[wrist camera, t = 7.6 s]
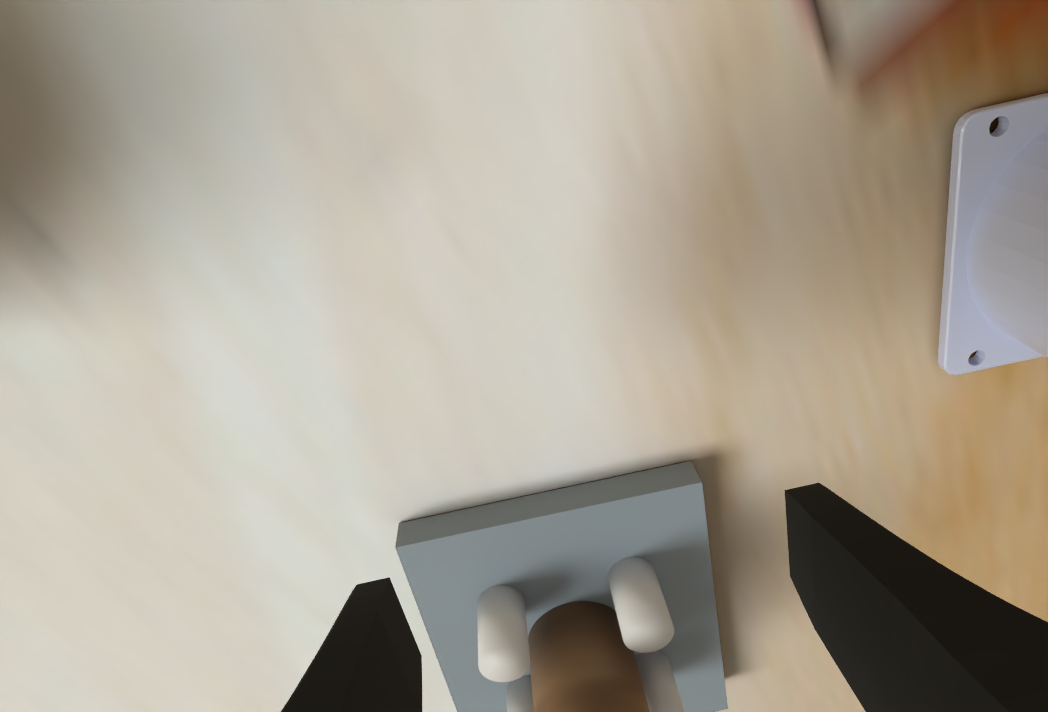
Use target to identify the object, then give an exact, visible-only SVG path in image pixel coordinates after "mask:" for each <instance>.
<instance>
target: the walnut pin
mask: <svg viewBox="0 0 1048 712" xmlns="http://www.w3.org/2000/svg"><path fill="white" fill-rule="evenodd" d="M528 644H529V655H530V673H531V684H532V695H533V706H534V712H650V711H649V707H648V703H647V700H646V696H645V692H644V688H643V684H642V680H641V676H640V673H639V669H638V665H637V661H636V657H635V653H634V651H633V650H631V649H629V648H628V647H627V646H626V645H625V644H624V642H623V638H622V634H621V630H620V626H619V622H618V618H617V614H616V610H614V609H613V608H611V607H609V606H607V605H604V604H601V603H597V602H590V601H579V602H571V603H566V604H563V605H560V606H557V607H555V608H553V609H551V610H549V611H548V612H546V613H544V614H543V615H542V616H541V617H540V618H539V619H538V620H537V621H536V622H535V623H534V625H533V626H532V628H531V630H530V633H529V636H528Z"/></svg>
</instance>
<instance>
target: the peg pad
mask: <svg viewBox="0 0 1048 712" xmlns="http://www.w3.org/2000/svg"><path fill="white" fill-rule="evenodd" d="M395 548H396V550H397V553H398V556H399V558H400V561H401V564H402V566H403V569H404V572H405V574H406V577H407V580H408V582H409V585H410V587H411V590H412V593H413V595H414V598H415V601H416V603H417V606H418V609H419V611H420V614H421V617H422V619H423V622H424V625H425V627H426V630H427V633H428V635H429V638H430V640H431V643H432V646H433V648H434V651H435V654H436V656H437V659H438V662H439V664H440V667H441V670H442V672H443V675H444V678H445V680H446V683H447V686H448V688H449V691H450V693H451V696H452V699H453V701H454V704H455V707H456V709H457V712H534V706H533V695H532V684H531V673H530V655H529V644H528V636H529V633H530V630H531V628H532V626H533V625H534V623H535V622H536V621H537V620H538V619H539V618H540V617H541V616H542V615H543V614H544V613H546V612H548V611H549V610H551V609H553V608H555V607H557V606H560V605H563V604H566V603H571V602H579V601H590V602H597V603H601V604H604V605H607V606H609V607H611V608H613V609H614V610H616V614H617V618H618V622H619V626H620V630H621V634H622V638H623V642H624V644H625V645H626V646H627V647H628V648H629V649H631V650H633V651H634V653H635V657H636V661H637V665H638V669H639V673H640V676H641V680H642V684H643V688H644V692H645V696H646V700H647V703H648V707H649V711H650V712H714V711H719V710H724V709H728V706H727V697H726V688H725V679H724V671H723V662H722V653H721V644H720V635H719V627H718V618H717V609H716V600H715V591H714V582H713V574H712V565H711V556H710V547H709V538H708V530H707V521H706V512H705V503H704V494H703V486H702V481H701V479H700V477H699V475H698V473H697V471H696V469H695V467H694V465H693V463H692V461H688V462H683V463H678V464H673V465H669V466H664V467H659V468H655V469H650V470H645V471H641V472H636V473H631V474H627V475H622V476H617V477H613V478H608V479H603V480H599V481H594V482H589V483H585V484H580V485H575V486H571V487H566V488H561V489H557V490H552V491H547V492H543V493H538V494H533V495H529V496H524V497H519V498H515V499H510V500H505V501H501V502H496V503H491V504H487V505H482V506H477V507H473V508H468V509H463V510H459V511H454V512H449V513H444V514H440V515H435V516H430V517H426V518H421V519H416V520H412V521H407V522H402V523H399V526H398V533H397V540H396V547H395Z"/></svg>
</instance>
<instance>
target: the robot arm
mask: <svg viewBox="0 0 1048 712" xmlns="http://www.w3.org/2000/svg"><path fill="white" fill-rule="evenodd" d="M997 117H998V121H999V123H998V126H997V128H996V129H995V130H994V132H992V133H990V132H989V127H990V124H991V122H992V121H993V120H994V119H995V118H997ZM975 351H977V352H976V355H975V356H974V357H973V358H971V359H969V356H970V355H971V354H972V353H973V352H975ZM1043 356H1045V357H1047V358H1048V93H1045V94H1041V95H1036V96H1032V97H1028V98H1023V99H1019V100H1014V101H1010V102H1005V103H1001V104H996V105H992V106H987V107H983V108H979V109H974V110H971V111H969V112H967V113H965V114H964V115H963V116H962V117H960V118H959V120H958V122H957V123H956V125H955V128H954V132H953V143H952V158H951V173H950V188H949V203H948V217H947V232H946V247H945V262H944V276H943V291H942V306H941V321H940V336H939V350H938V364H939V366H940V367H941V368H942V369H943V370H944V371H945V372H947V373H949V374H951V375H960V374H964V373H969V372H974V371H978V370H983V369H988V368H992V367H997V366H1002V365H1006V364H1011V363H1016V362H1020V361H1025V360H1030V359H1034V358H1039V357H1043ZM968 359H969V360H968ZM785 500H786V517H787V533H788V549H789V565H790V577H791V579H792V581H793V583H794V585H795V588H796V590H797V592H798V594H799V596H800V599H801V601H802V603H803V605H804V607H805V609H806V611H807V613H808V616H809V618H810V620H811V622H812V624H813V626H814V628H815V630H816V632H817V633H818V635H819V637H820V638H821V640H822V642H823V643H824V645H825V646H826V648H827V650H828V651H829V653H830V655H831V656H832V658H833V659H834V661H835V663H836V664H837V666H838V668H839V669H840V671H841V672H842V674H843V676H844V677H845V679H846V681H847V682H848V684H849V685H850V687H851V689H852V690H853V692H854V693H855V695H856V697H857V698H858V700H859V701H860V703H861V705H862V706H863V708H864V709H865V711H866V712H1048V622H1046V621H1044V620H1042V619H1040V618H1038V617H1036V616H1034V615H1032V614H1030V613H1028V612H1026V611H1024V610H1022V609H1020V608H1018V607H1016V606H1014V605H1012V604H1010V603H1008V602H1006V601H1004V600H1003V599H1001V598H999V597H997V596H995V595H993V594H991V593H990V592H988V591H986V590H984V589H983V588H981V587H979V586H977V585H976V584H974V583H972V582H970V581H969V580H967V579H965V578H963V577H962V576H960V575H958V574H956V573H955V572H953V571H951V570H950V569H948V568H946V567H945V566H943V565H942V564H940V563H938V562H937V561H935V560H933V559H932V558H930V557H929V556H927V555H926V554H924V553H923V552H921V551H919V550H918V549H916V548H915V547H913V546H912V545H910V544H908V543H907V542H905V541H904V540H902V539H901V538H899V537H898V536H896V535H895V534H893V533H892V532H890V531H889V530H887V529H886V528H884V527H883V526H881V525H880V524H878V523H877V522H875V521H874V520H872V519H871V518H870V517H868V516H867V515H865V514H864V513H862V512H861V511H859V510H858V509H857V508H855V507H854V506H852V505H851V504H849V503H848V502H846V501H845V500H844V499H842V498H841V497H839V496H838V495H836V494H835V493H834V492H832V491H831V490H829V489H828V488H826V487H825V486H823V485H822V484H820V483H816V484H811V485H807V486H802V487H798V488H793V489H789V490H785ZM281 712H422V662H421V654H420V651H419V649H418V646H417V644H416V641H415V639H414V637H413V634H412V632H411V629H410V627H409V624H408V622H407V619H406V617H405V615H404V612H403V610H402V607H401V605H400V602H399V600H398V597H397V595H396V592H395V590H394V588H393V585H392V583H391V580H390V578H385V579H380V580H376V581H371V582H367V583H362V584H358V585H356V587H355V588H354V590H353V591H352V593H351V595H350V596H349V598H348V600H347V602H346V603H345V605H344V607H343V609H342V610H341V612H340V614H339V616H338V617H337V619H336V621H335V623H334V625H333V626H332V628H331V630H330V632H329V633H328V635H327V637H326V639H325V640H324V642H323V644H322V646H321V647H320V649H319V651H318V653H317V654H316V656H315V658H314V659H313V661H312V663H311V664H310V666H309V668H308V669H307V671H306V672H305V674H304V676H303V677H302V679H301V681H300V682H299V684H298V686H297V687H296V689H295V691H294V692H293V694H292V695H291V697H290V699H289V700H288V702H287V703H286V705H285V706H284V708H283V709H282V711H281Z"/></svg>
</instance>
